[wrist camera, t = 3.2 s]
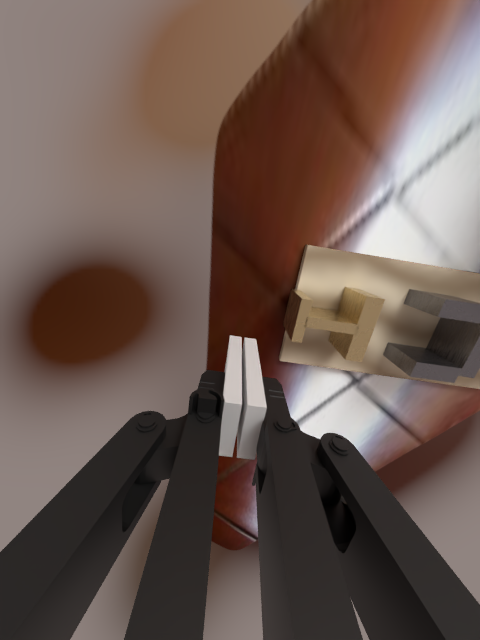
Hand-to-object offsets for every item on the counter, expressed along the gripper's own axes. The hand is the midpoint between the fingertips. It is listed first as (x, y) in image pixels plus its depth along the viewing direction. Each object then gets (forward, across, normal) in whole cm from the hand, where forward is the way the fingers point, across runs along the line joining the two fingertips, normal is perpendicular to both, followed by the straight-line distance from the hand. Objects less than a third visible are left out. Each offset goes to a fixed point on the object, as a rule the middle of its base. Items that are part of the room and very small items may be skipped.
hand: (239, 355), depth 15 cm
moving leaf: (+15, +11, 0) cm, 19 cm away
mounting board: (+16, +23, 0) cm, 28 cm away
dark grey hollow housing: (+15, +25, 0) cm, 29 cm away
